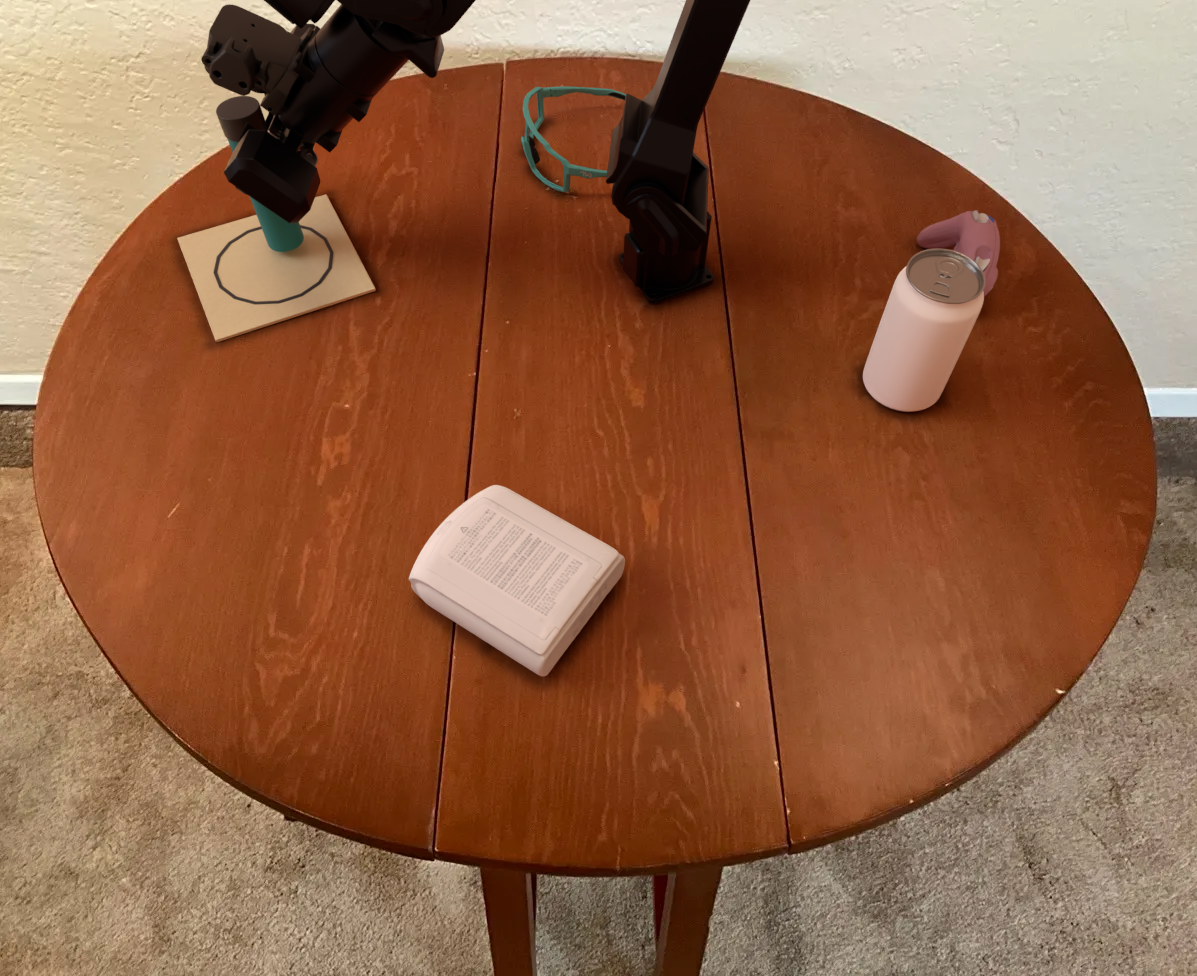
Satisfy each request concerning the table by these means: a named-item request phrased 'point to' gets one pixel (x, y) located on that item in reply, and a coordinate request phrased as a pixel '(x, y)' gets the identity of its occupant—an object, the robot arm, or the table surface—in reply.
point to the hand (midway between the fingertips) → (246, 176)
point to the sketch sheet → (272, 271)
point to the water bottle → (274, 227)
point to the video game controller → (968, 240)
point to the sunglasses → (532, 152)
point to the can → (924, 329)
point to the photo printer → (515, 575)
